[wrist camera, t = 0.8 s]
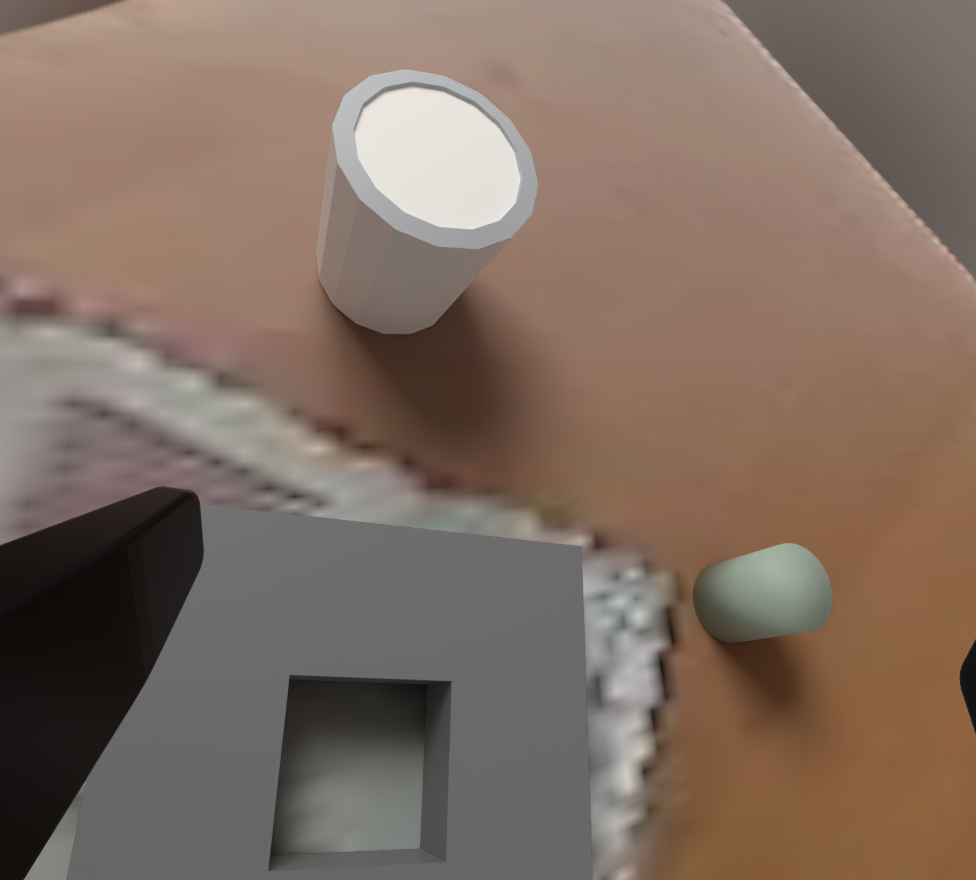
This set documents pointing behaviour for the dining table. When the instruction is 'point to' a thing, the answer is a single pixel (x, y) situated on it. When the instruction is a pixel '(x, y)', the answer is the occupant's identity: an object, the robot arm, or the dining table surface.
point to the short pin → (763, 595)
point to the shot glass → (417, 198)
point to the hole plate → (355, 658)
